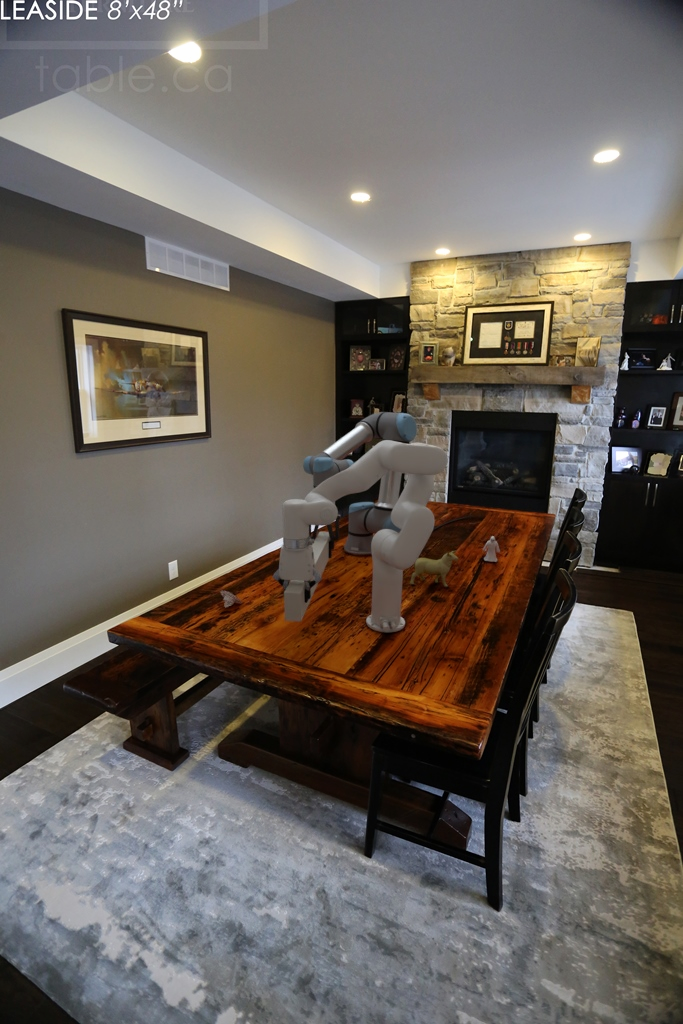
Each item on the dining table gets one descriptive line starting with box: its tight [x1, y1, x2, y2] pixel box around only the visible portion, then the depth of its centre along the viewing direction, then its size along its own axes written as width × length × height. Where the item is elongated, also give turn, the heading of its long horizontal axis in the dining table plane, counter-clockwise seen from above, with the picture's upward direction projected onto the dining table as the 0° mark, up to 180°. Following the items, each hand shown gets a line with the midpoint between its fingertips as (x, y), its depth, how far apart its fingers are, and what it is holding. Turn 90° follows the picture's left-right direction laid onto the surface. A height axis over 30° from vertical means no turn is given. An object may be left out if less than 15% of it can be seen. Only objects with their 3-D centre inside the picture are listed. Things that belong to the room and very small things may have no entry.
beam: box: [283, 531, 330, 622], centre depth 171 cm, size 61×5×9 cm, turn 173°
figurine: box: [482, 535, 501, 563], centre depth 223 cm, size 8×8×12 cm
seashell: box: [219, 590, 242, 609], centre depth 173 cm, size 8×5×8 cm
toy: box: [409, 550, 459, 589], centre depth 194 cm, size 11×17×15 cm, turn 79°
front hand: (297, 599), depth 149 cm, fingers closed on beam, 4 cm apart
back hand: (323, 556), depth 195 cm, fingers closed on beam, 5 cm apart
